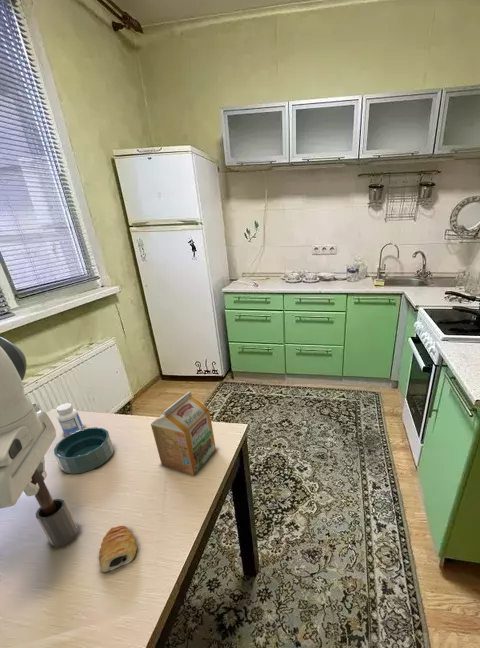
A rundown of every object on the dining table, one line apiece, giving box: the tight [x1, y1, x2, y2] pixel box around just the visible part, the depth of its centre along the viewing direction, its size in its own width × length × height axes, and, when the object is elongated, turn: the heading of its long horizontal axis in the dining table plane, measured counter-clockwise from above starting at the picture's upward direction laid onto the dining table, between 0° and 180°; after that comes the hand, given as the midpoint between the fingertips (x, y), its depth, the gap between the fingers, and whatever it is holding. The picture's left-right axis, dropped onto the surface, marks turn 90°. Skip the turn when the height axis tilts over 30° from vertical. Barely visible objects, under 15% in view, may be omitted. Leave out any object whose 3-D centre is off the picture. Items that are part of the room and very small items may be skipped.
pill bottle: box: [55, 402, 85, 437], centre depth 101 cm, size 6×5×10 cm
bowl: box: [53, 426, 115, 475], centre depth 91 cm, size 13×13×6 cm
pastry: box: [98, 525, 138, 573], centre depth 66 cm, size 9×7×4 cm
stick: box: [31, 469, 58, 517], centre depth 65 cm, size 2×2×18 cm
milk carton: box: [150, 391, 217, 476], centre depth 87 cm, size 11×10×19 cm
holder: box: [35, 498, 79, 548], centre depth 68 cm, size 5×5×9 cm
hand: (37, 486), depth 63 cm, fingers closed on stick, 2 cm apart
